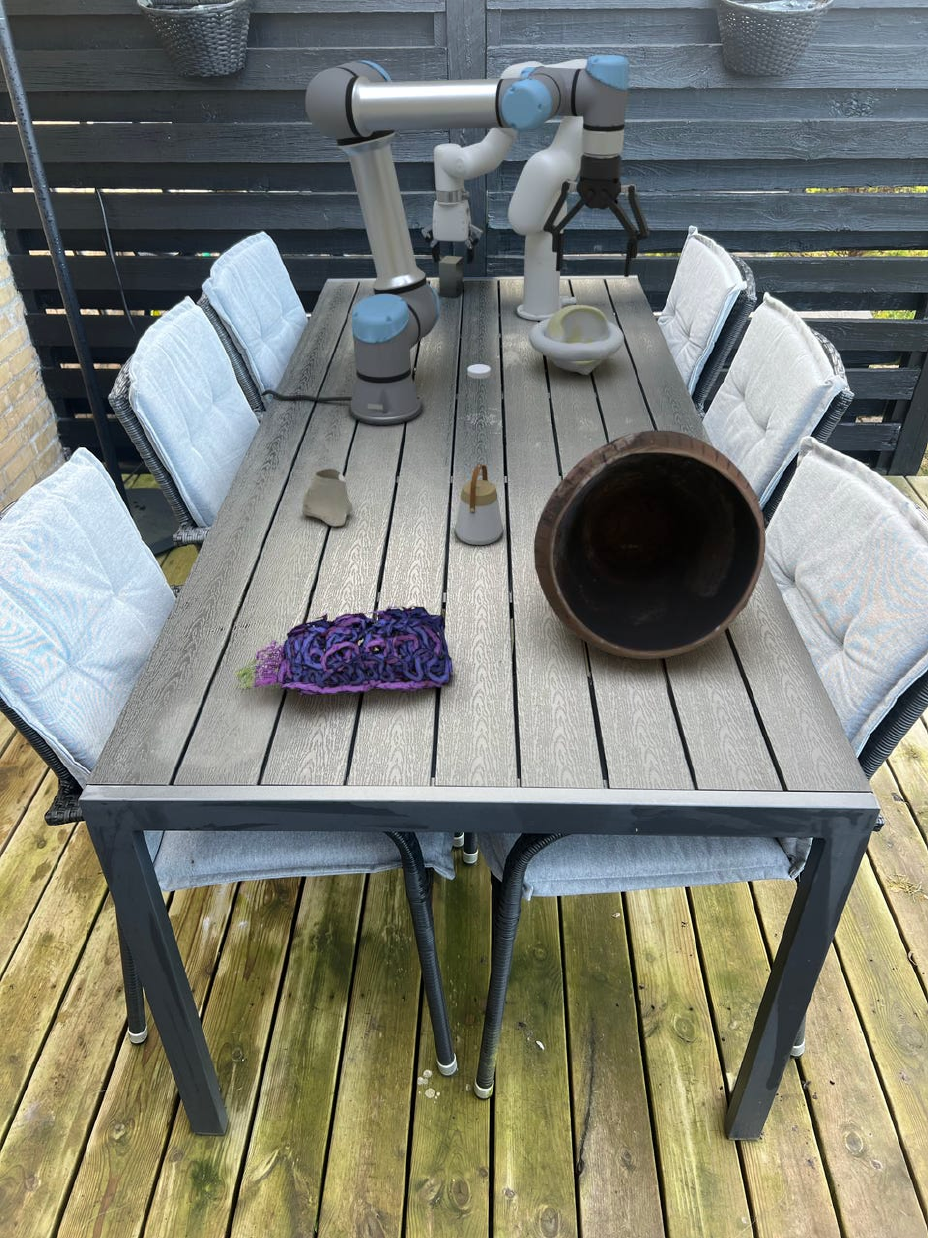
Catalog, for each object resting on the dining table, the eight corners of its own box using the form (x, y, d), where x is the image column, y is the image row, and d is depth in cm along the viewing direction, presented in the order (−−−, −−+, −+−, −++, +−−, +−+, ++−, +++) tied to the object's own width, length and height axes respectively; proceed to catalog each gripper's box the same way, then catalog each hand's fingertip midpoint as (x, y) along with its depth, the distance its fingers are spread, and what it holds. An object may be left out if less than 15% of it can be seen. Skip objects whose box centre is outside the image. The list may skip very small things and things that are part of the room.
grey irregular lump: (352, 523, 169) (358, 468, 167) (345, 530, 162) (351, 474, 159) (303, 516, 169) (308, 461, 167) (294, 523, 162) (299, 466, 159)
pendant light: (493, 549, 158) (495, 382, 140) (448, 540, 161) (445, 375, 142) (508, 525, 164) (512, 362, 146) (465, 517, 167) (463, 355, 148)
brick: (456, 297, 261) (455, 263, 255) (439, 296, 262) (438, 262, 256) (463, 290, 266) (462, 256, 260) (446, 288, 267) (446, 255, 261)
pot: (569, 390, 148) (614, 390, 119) (739, 473, 153) (822, 494, 124) (483, 572, 154) (505, 616, 125) (649, 647, 159) (708, 705, 130)
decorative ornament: (458, 672, 122) (225, 684, 119) (455, 713, 130) (238, 725, 128) (450, 592, 130) (231, 602, 127) (447, 636, 138) (243, 646, 135)
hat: (520, 351, 228) (521, 289, 219) (607, 347, 230) (612, 285, 221) (537, 392, 209) (540, 327, 200) (632, 387, 211) (639, 322, 202)
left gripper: (672, 153, 170) (659, 271, 183) (540, 146, 176) (535, 261, 189) (667, 161, 165) (653, 283, 178) (530, 154, 171) (526, 272, 184)
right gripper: (485, 193, 249) (487, 259, 259) (424, 191, 253) (428, 257, 263) (477, 199, 243) (479, 267, 253) (415, 198, 248) (419, 264, 258)
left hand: (592, 272), depth 183 cm, fingers open, 13 cm apart
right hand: (453, 261), depth 258 cm, fingers open, 9 cm apart
